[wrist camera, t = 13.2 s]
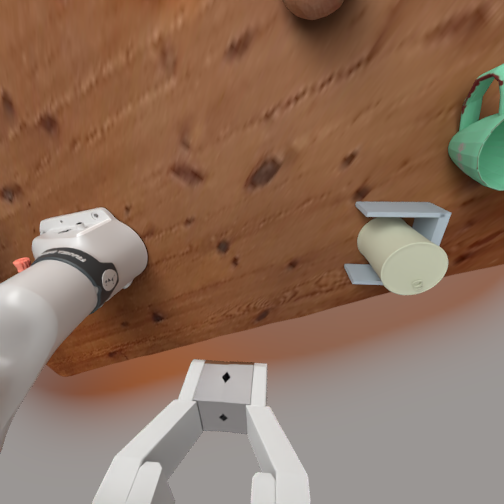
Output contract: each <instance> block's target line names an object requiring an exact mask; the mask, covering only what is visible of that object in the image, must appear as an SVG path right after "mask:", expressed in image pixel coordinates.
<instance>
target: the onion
mask: <svg viewBox="0 0 504 504" xmlns="http://www.w3.org/2000/svg"><path fill="white" fill-rule="evenodd" d="M343 1H344V0H283V2H284V4H285V5H286V7H287V8H288V9H289V10H290V11H291V12H292V13H293V14H294V15H296V16H298V17H300V18H304V19H309V20H315V19H319V18H322V17H326V16H328V15H329V14H331V13H333V12H334V11H336V10H337V9H338V8H340V7H341V5H342V2H343Z"/></svg>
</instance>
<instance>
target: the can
mask: <svg viewBox="0 0 504 504" xmlns="http://www.w3.org/2000/svg"><path fill="white" fill-rule="evenodd" d="M357 245H358V249H359V251H360V252H361V254H362V255H364V256H365V258H366V259H367V260H368V262H369V263H370V265H371V266H372V268H373V269H374V270H375V272H376V273H377V275H378V276H379V278H380V279H381V281H382V283H383V285H384V286H385V287H386V288H387V289H388V290H389V291H391V292H393V293H396V294H400V295H414V294H419V293H421V292H424V291H427V290H429V289H430V288H432V287H433V286H435V285H436V284H437V283H438V282H439V281H440V280H441V279H442V278H443V277H444V275H445V273H446V271H447V268H448V257H447V255H446V253H445V251H444V250H443V249H442V248H441V247H439V246H438V245H436V244H434V243H432V242H431V241H430V240H428V239H427V238H425V237H424V236H422V235H421V234H420V233H418V232H417V231H416V230H414V229H413V228H412V227H410V226H409V225H407V223H406V222H405V221H404V220H402V219H401V218H399V217H377V218H375V219H373V220H371V221H369V222H368V223H367V224H366V225H365V226H364V227H363V228H362V229H361V231H360V233H359V235H358V239H357Z"/></svg>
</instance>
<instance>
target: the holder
mask: <svg viewBox="0 0 504 504" xmlns="http://www.w3.org/2000/svg"><path fill="white" fill-rule="evenodd" d="M355 206H356V207H357V208H358V209H359V210H360V211H361V212H362V213H363V214H364V215H365V216H366V217H415V219H414V223H413V226H412V228H413V229H414V230H416V231H417V232H418V233H420V234H421V235H422V236H424V237H425V238H427V239H428V240H430V241H431V242H432V243H434V244H436V245H438V246H439V245H440V242H441V239H442V237H443V234H444V232H445V229H446V226H447V224H448V221H449V218H450V216H451V212H449V211H447V210H444V209H442V208H440V207H438V206H436V205H434V204H432V203H430V202H356V205H355ZM344 268H345V270H346V272H347V274H348V276H349V278H350V280H351V282H352V284H367V285H383V283H382V281H381V279H380V278H379V276H378V275H377V273H376V272H375V270H374V269H373V268H372V266H371V265H369V264H345V265H344Z"/></svg>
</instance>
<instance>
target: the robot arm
mask: <svg viewBox="0 0 504 504" xmlns="http://www.w3.org/2000/svg"><path fill="white" fill-rule="evenodd" d="M96 214H97V215H98V216H97V215H96ZM32 252H33V255H34V258H35V261H34V262H33V263H32V264H31V262H30V259H29V258H21V259H18V260H15V261H14V262H13V264H14V265H15V266H16V267H17V269H18V272H19V273H18V274H16V275H14V276H13V277H11V278H9V279H7V280H6V281H4V282H2V283H0V453H1V450H2V447H3V444H4V440H5V437H6V434H7V431H8V429H9V426H10V424H11V422H12V420H13V418H14V416H15V414H16V412H17V410H18V409H19V407H20V405H21V404H22V402H23V400H24V398H25V397H26V395H27V393H28V392H29V390H30V388H31V387H32V385H33V384H34V382H35V380H36V379H37V377H38V376H39V374H40V372H41V371H42V369H43V368H44V366H45V365H46V363H47V362H48V360H49V359H50V357H51V356H52V354H53V353H54V352H55V350H56V349H57V348H58V347H59V345H60V344H61V343H62V342H63V341H64V340H65V339H66V338H67V337H68V335H69V334H70V333H71V332H72V331H73V330H74V329H75V328H76V327H77V326H78V325H79V324H80V323H81V322H82V321H83V320H84V319H85V318H86V317H87V316H88V315H90V314H92V313H94V312H95V311H96V310H97V309H98V308H100V307H101V306H102V305H103V304H104V303H105V302H106V301H108V300H109V299H110V298H111V297H113V296H114V295H115V294H116V293H117V292H119V291H120V290H121V289H122V288H124V289H125V288H127V287H129V286H130V285H131V283H132V281H133V279H134V278H135V277H136V276H138V275H139V274H141V273H142V272H143V271H144V269H145V267H146V265H147V260H148V256H147V251H146V247H145V245H144V243H143V241H142V240H141V238H140V237H139V236H138V235H137V233H136V232H135V231H133V230H132V229H131V228H130V227H128V226H127V225H125V224H123V223H122V222H120V221H118V220H117V219H116V218H115V217H114V216H113V215H112V214H111V213H110V212H109V211H108V210H107V209H105V208H102V207H101V208H95V209H91V210H86V211H81V212H76V213H72V214H67V215H62V216H57V217H52V218H48V219H45V220H43V221H41V223H40V236H38V237H36V238H35V239H34V240H33V242H32ZM266 404H267V364H266V363H265V364H264V363H252V362H224V361H212V360H199V359H198V360H197V359H193V361H192V362H191V364H190V367H189V370H188V373H187V375H186V378H185V381H184V384H183V387H182V389H181V392H180V395H179V398H178V400H173V401H172V402H171V403H170V404H169V405H168V406H167V407H166V408H165V409H164V410H163V411H162V412H161V413H160V414H158V415H157V416H156V417H155V418H154V419H153V420H152V421H151V422H150V423H149V424H148V425H147V426H146V427H145V428H144V429H143V430H142V431H141V432H140V433H139V434H138V435H137V436H136V437H135V438H133V439H132V440H131V442H129V443H128V444H127V445H126V446H125V447H124V448H123V449H122V450H121V451H120V452H119V453H118V454H117V455H116V456H115V457H114V459H113V461H112V463H111V465H110V467H109V469H108V471H107V473H106V475H105V477H104V479H103V482H102V483H101V485H100V488H99V490H98V491H97V494H96V496H95V498H94V500H93V502H92V504H175V500H174V497H173V494H172V492H171V489H170V487H169V484H168V482H167V480H168V479H169V478H170V476H171V475H172V474H173V472H174V471H175V469H176V468H177V467H178V465H179V464H180V463H181V461H182V460H183V459H184V457H185V456H186V454H187V453H188V452H189V450H190V449H191V448H192V446H193V445H194V444H195V442H196V441H197V439H198V438H199V437H200V435H201V434H202V433H203V431H223V432H232V433H241V434H248V438H249V441H250V443H251V446H252V448H253V451H254V453H255V456H256V459H257V462H258V464H259V467H260V469H261V472H262V473H258V472H257V473H256V474H255V475H254V476H253V478H252V491H251V504H311V503H310V492H309V483H308V475H307V474H306V472H305V470H304V468H303V466H302V464H301V462H300V461H299V459H298V457H297V455H296V453H295V452H294V450H293V448H292V446H291V444H290V442H289V440H288V439H287V437H286V435H285V433H284V431H283V429H282V428H281V426H280V424H279V422H278V420H277V418H276V417H275V415H274V413H273V411H272V409H271V408H270V407H268V406H267V405H266ZM202 430H203V431H202Z"/></svg>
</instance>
